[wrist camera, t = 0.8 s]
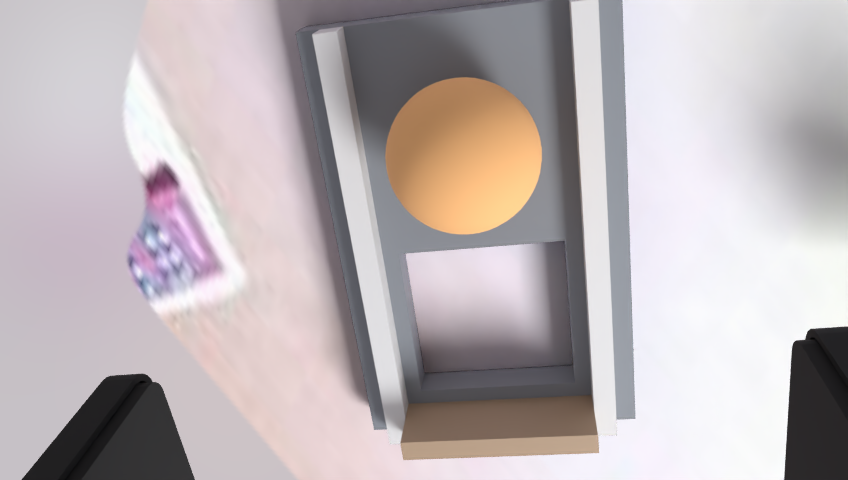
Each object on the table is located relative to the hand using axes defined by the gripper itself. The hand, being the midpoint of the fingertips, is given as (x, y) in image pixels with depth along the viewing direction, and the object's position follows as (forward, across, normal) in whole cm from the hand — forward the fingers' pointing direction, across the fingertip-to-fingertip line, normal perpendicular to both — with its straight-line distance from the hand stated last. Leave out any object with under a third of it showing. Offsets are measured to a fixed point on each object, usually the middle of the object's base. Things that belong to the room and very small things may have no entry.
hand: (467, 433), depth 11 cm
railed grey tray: (+23, +2, +7) cm, 24 cm away
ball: (+19, +2, +2) cm, 19 cm away
